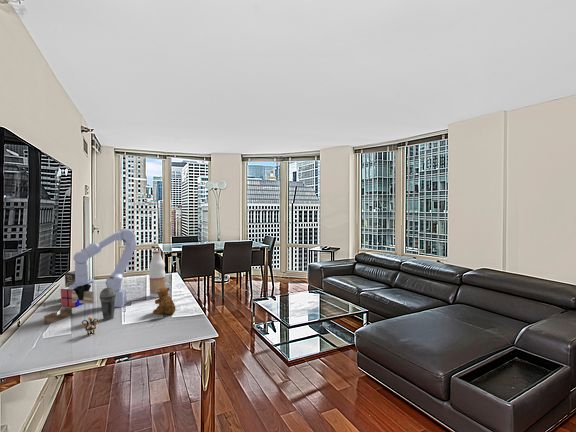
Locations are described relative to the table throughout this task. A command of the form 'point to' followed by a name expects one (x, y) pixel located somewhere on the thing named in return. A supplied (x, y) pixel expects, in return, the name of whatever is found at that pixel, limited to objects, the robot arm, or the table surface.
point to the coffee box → (69, 278)
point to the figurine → (90, 325)
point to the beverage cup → (107, 302)
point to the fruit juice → (156, 274)
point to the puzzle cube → (68, 298)
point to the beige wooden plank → (84, 297)
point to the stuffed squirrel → (164, 302)
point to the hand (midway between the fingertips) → (82, 299)
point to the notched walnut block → (55, 317)
